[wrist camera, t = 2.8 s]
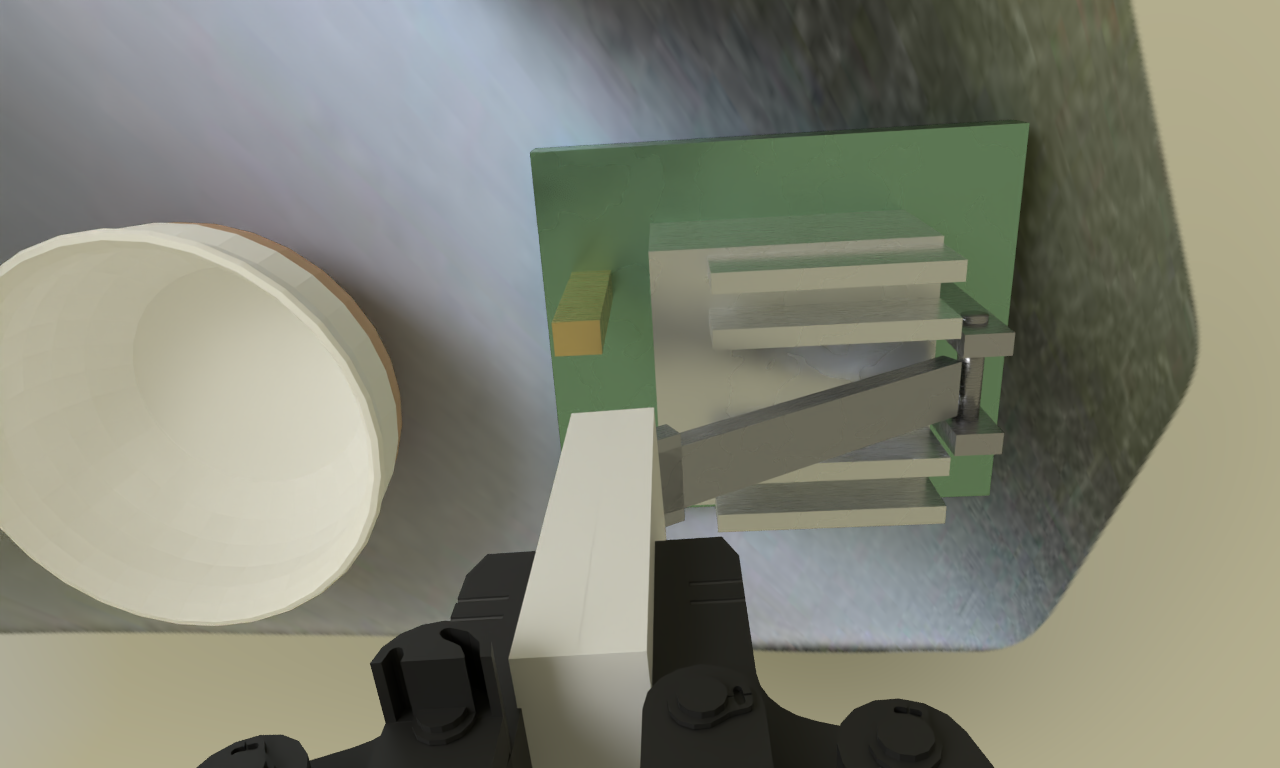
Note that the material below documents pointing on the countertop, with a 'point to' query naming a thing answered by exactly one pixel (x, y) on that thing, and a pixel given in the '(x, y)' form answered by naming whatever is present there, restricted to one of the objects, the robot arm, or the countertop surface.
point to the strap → (801, 432)
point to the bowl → (190, 420)
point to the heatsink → (790, 295)
